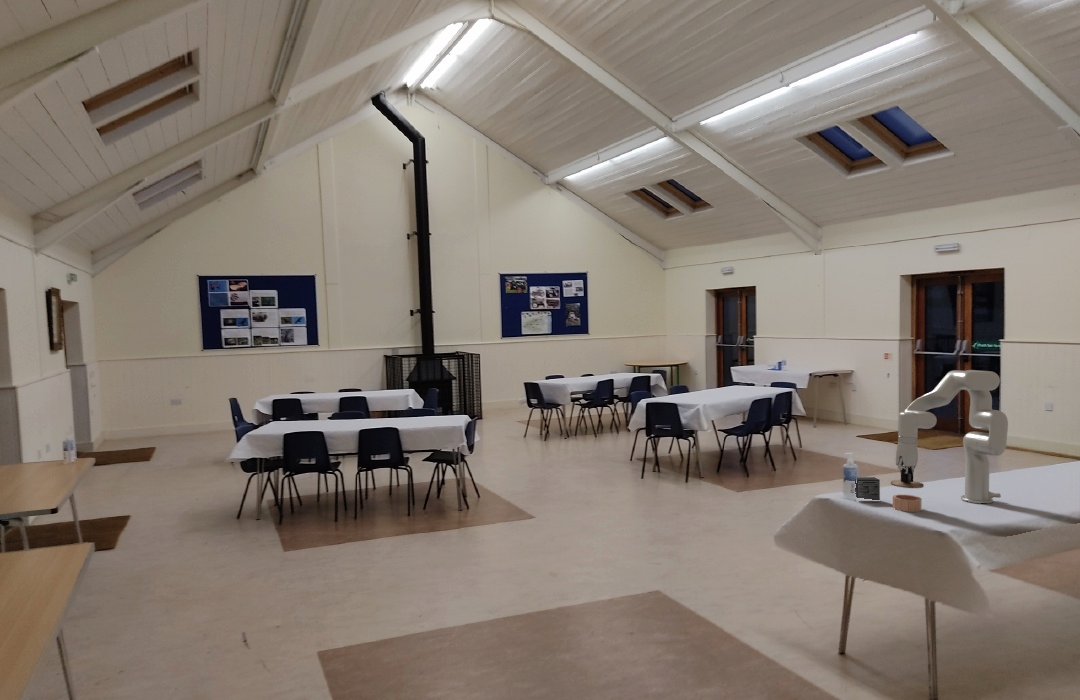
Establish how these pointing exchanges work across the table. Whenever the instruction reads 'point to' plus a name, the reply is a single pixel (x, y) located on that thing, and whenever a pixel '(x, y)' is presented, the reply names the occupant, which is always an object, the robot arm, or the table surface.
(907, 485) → the lid
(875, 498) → the small box
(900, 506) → the bowl
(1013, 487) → the table surface
